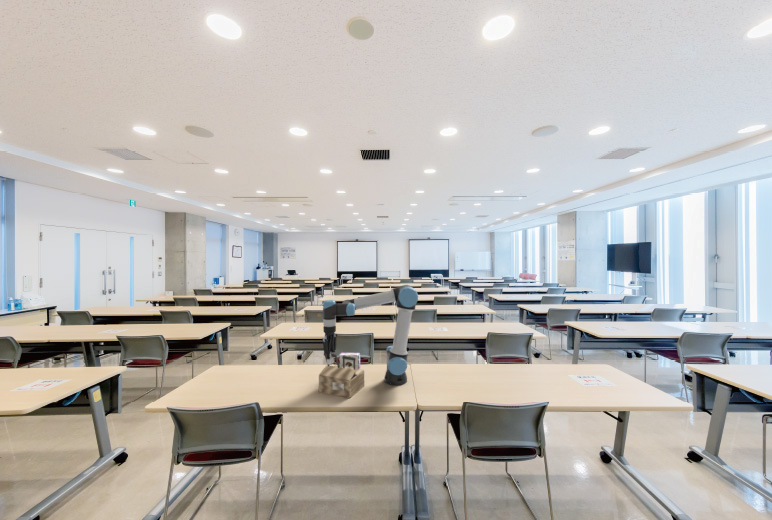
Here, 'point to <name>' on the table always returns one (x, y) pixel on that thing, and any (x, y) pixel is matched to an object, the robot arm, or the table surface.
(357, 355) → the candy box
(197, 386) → the table surface
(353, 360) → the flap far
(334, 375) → the flap near
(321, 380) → the wooden box
